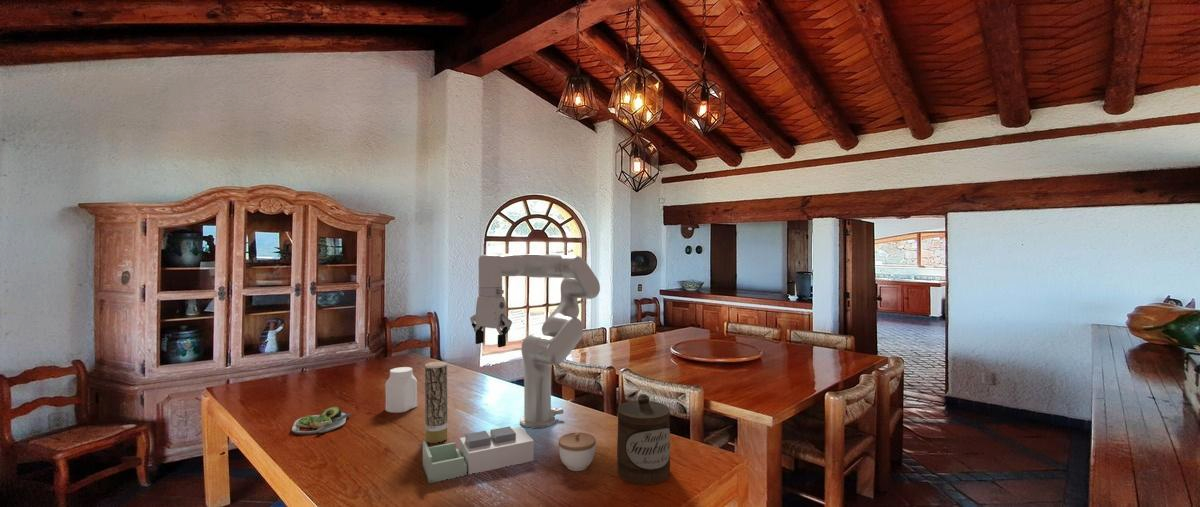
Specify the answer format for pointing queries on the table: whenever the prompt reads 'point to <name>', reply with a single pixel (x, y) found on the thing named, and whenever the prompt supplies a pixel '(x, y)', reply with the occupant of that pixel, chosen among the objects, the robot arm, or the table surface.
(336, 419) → the avocado toast plate
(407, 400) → the jar
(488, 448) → the white rectangular block
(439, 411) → the bark-textured canister
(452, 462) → the box
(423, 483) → the table surface
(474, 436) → the slate tile front
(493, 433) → the slate tile back
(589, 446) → the lidded jar
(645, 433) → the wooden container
